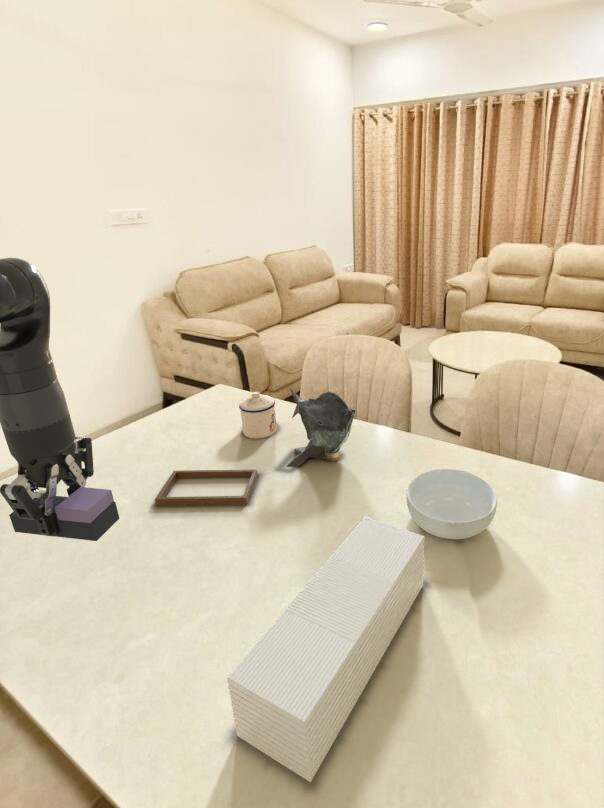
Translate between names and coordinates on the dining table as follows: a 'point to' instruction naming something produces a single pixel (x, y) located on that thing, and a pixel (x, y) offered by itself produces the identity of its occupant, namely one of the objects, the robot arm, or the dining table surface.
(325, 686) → the stack of papers
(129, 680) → the dining table surface
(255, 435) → the teacup with lid
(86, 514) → the navy and purple block
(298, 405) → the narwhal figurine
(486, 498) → the cereal bowl
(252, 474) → the empty rectangular frame
